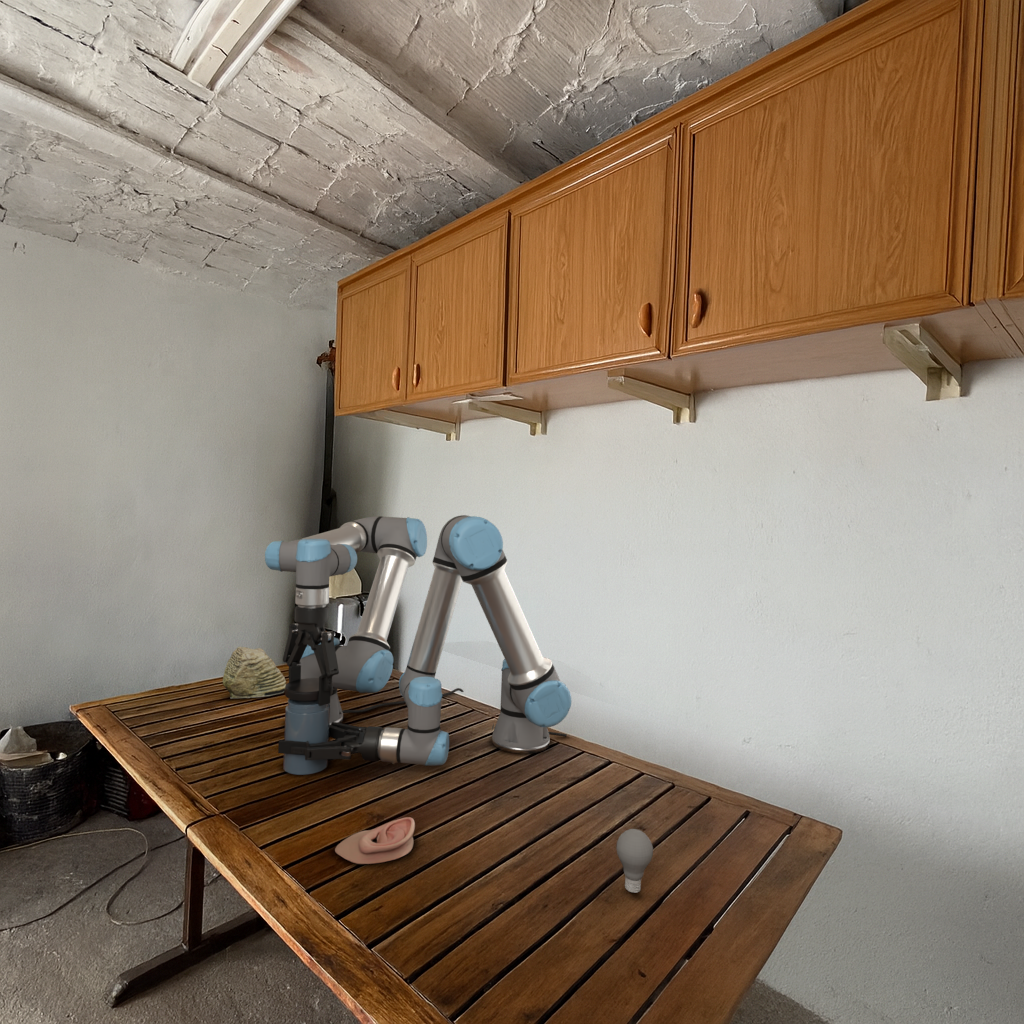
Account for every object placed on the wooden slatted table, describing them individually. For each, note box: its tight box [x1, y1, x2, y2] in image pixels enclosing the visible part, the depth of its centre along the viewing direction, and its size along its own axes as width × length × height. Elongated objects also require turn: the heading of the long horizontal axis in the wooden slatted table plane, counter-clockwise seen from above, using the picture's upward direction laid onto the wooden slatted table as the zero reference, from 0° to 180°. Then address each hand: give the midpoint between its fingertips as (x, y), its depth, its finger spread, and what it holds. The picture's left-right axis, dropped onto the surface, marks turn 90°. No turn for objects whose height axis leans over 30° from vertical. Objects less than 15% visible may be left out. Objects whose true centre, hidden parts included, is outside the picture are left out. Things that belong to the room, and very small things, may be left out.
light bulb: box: [615, 828, 654, 894], centre depth 106 cm, size 6×6×10 cm
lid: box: [284, 678, 333, 701], centre depth 149 cm, size 11×11×2 cm
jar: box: [282, 698, 330, 776], centre depth 149 cm, size 10×10×16 cm
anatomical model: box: [334, 816, 416, 865], centre depth 115 cm, size 13×4×12 cm
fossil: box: [222, 646, 287, 699], centre depth 198 cm, size 9×18×15 cm, turn 132°
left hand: (308, 698), depth 149 cm, fingers closed on lid, 11 cm apart
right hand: (289, 737), depth 149 cm, fingers closed on jar, 10 cm apart
